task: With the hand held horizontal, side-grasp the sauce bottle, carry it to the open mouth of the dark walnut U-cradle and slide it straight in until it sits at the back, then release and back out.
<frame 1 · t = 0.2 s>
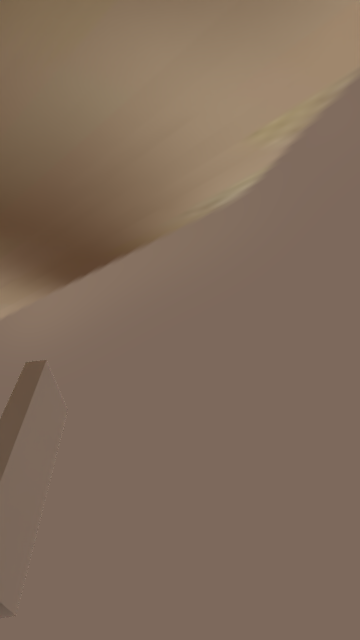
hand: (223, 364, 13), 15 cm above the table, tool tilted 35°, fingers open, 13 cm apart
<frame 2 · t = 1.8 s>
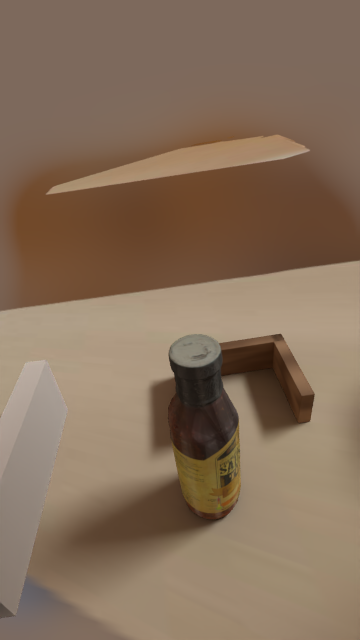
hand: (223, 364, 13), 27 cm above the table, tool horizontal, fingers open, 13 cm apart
sauce bottle: (211, 491, 36), on the table
cradle: (241, 399, 46), on the table
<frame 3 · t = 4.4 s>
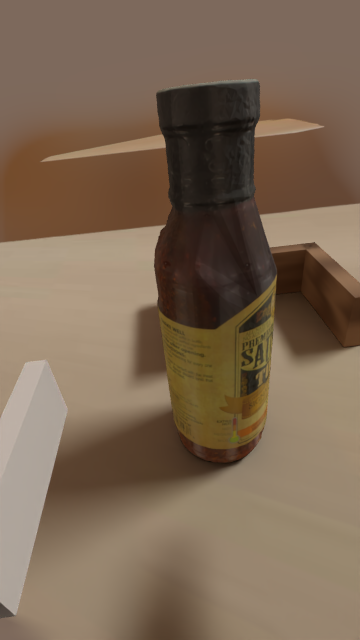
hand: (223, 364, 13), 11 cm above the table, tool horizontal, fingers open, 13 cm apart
sauce bottle: (220, 427, 24), on the table
cradle: (259, 322, 33), on the table
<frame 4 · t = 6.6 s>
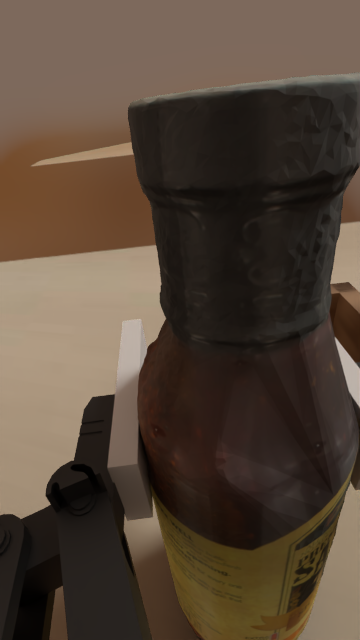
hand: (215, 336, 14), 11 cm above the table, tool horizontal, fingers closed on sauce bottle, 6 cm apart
sauce bottle: (241, 578, 17), on the table, touching gripper
cradle: (283, 389, 26), on the table
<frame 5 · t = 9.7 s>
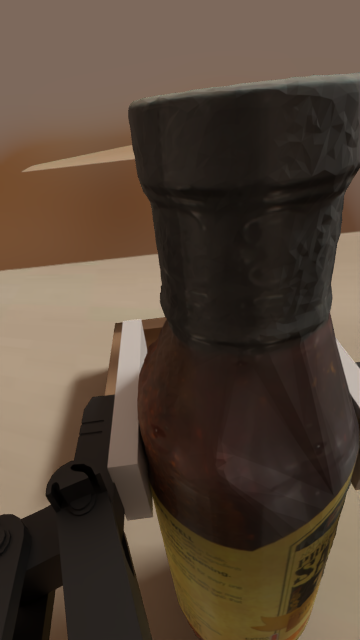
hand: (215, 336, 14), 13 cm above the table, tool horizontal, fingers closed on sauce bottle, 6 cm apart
sauce bottle: (241, 578, 17), point 2 cm above the table, touching gripper
cradle: (210, 405, 28), on the table
when the fingers open (13 cm above the table, at t = 12.7 s): sauce bottle drops 2 cm, on the table.
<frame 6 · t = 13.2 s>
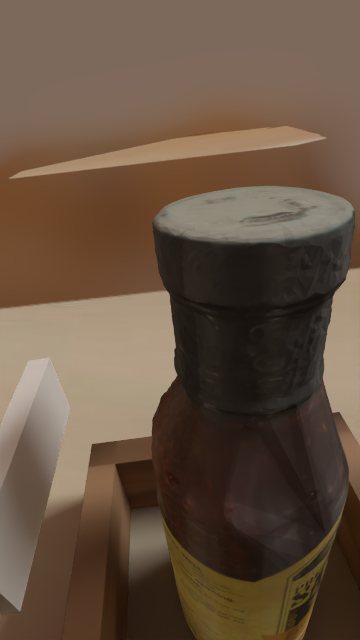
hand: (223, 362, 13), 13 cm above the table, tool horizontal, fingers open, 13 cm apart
sauce bottle: (242, 592, 18), on the table
cradle: (240, 591, 18), on the table
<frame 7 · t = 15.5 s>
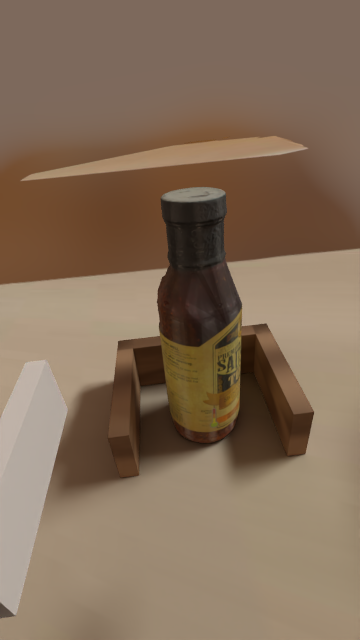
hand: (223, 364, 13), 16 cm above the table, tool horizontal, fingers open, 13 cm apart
sauce bottle: (205, 418, 31), on the table
cradle: (204, 416, 31), on the table
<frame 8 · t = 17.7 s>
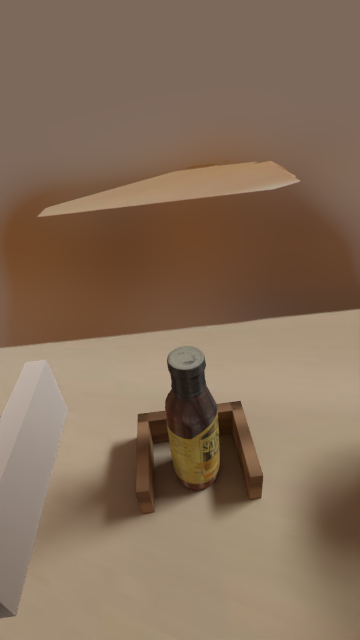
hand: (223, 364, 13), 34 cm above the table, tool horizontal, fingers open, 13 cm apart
sauce bottle: (197, 469, 46), on the table
cradle: (197, 468, 46), on the table
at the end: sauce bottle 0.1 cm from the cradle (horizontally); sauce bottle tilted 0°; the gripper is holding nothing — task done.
